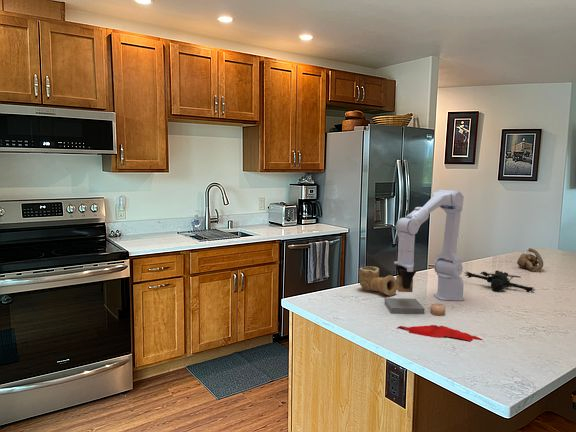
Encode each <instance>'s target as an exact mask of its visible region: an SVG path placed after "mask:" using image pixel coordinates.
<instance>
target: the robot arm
mask: <svg viewBox="0 0 576 432" xmlns="http://www.w3.org/2000/svg"><path fill="white" fill-rule="evenodd" d="M463 206H464V195H463V193H462V192H461V191H460V190H459V189H458V190H450V189H437V190H435V191H434V192H433V193H432V196H431V198H430V199H429V200H428V201H427V202H426V203H425V204H424V205H423V206H416V207H414V210H413V211H411V212H410V213H408V214H406V216H405V217H401V218H399V219H398V220H397V222H396V223H395V224H396V225H395V231H396V233H397V237H398V240H397V241H398V242H397V243H398V244H397V245H398V247H397V261H394V263H393V264H394V265H395V266H394V267H395V269H396V272H397V275H401V276H402V283H403V288H404V289H409V288H410V285H411V281H412V279H413V280H414V277H415V275H416V273H417V271H416V270H415V269H414V266H415V262H414V261H415V241H416V234H418V231H419V229H420V227H421V225H423V224H424V223H425V222H426V221H427V220H429V218H430V214H431V213H432V212H433V211H435V210H437V209H438V208H440V209H442V210H443V211H444V213H445V214H446V215H445V217H446V219H445V225H444V232H443V233H444V235H443V242H442V251H441V252H440V253H439V254H437V255H436V259H435V261H434V264H433V269H434V272H435V273H436V275H437V290H436V291H437V292H434V293H433V294H434V296H435V297H436V298H438V300H440V301H464V288H465V287H464V286H465V285H464V279H463V277H462V276H461V275H462V273H463V268H464V267H463V263H462V262H463V258H461V257H460V256H459V255H458V253H457V248H458V242H459V241H458V239H459V232H460V222H461V214H462V212H463Z"/></svg>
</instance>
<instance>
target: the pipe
mask: <svg viewBox="0 0 576 432" xmlns="http://www.w3.org/2000/svg"><path fill="white" fill-rule="evenodd" d="M358 280H359V285H360V287H361V288H363V289H364V290H365V291H368V292H375V291H376V292H381V293H383V294H384V295H386V296H388V297H389V296H393V295H395V294H396V293H397V292H398V290H397V289H396V277H395V276H394V275H391V274H390V275H386V276H385V277H380V268H379V267H377V266H371V265H370V266H364V267H359V271H358Z"/></svg>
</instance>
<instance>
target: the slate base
mask: <svg viewBox="0 0 576 432" xmlns="http://www.w3.org/2000/svg"><path fill="white" fill-rule="evenodd" d="M383 302H384V305H385V306H386V308H387V310H388V311H389V312H390V314H403V315H406V314H408V315H409V314H410V315H411V314H413V315H425V309H426V308H425V307H424V306H423V305H422V304H421V303H420V302H419V300H417V298H405V297H403V298H400V297H399V298H398V297H397V298H396V297H395V298H393V297H385V298H384V301H383Z"/></svg>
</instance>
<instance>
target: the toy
mask: <svg viewBox="0 0 576 432" xmlns="http://www.w3.org/2000/svg"><path fill="white" fill-rule="evenodd" d="M464 276H466V277H467V278H468V279H469V278H470V279H471V278H477V279H480V280H481V279H482V280H485V281H486V282H487V283H490V287H491V290H492V291H494V292H501V291H502V290H504V287H506V288H507V287H508V288H509V286H510V287H513V288H518V289H522V290H525V291H526V292H527V293H530V292H531V293H534V292H535V291H536V289H535V288H534V287H532V286H525V285H521V284H518V283H514V282H510V281H511V280H512V279H513V278H521V276H519V275H512V274H511V275H510V274H509V273H508V272H503V271H502V270H501V271H499V270H495V271H494V273H488V272H486V271H481V272H480V273H479V274H475V273H472V272H469V271H466V272H465V271H464ZM508 277H509V278H510V279H509V278H508Z"/></svg>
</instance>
